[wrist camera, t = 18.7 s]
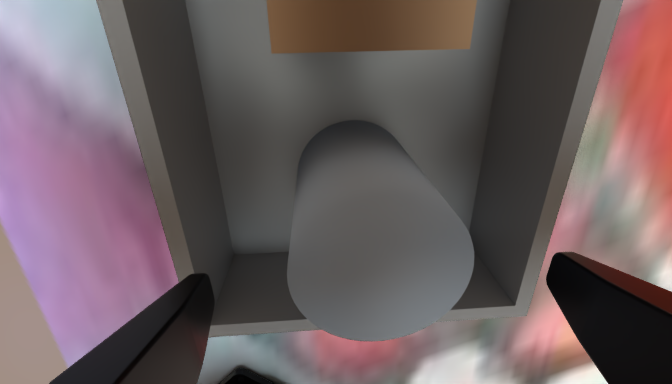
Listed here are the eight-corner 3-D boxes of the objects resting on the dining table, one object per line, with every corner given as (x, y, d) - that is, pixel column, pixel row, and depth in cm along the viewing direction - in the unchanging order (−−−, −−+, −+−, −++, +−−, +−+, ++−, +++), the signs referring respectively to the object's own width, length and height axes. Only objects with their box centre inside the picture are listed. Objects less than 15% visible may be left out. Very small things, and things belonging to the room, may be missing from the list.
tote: (472, 245, 18) (526, 315, 13) (226, 259, 17) (195, 338, 13) (557, -207, 10) (743, -393, 6) (129, -210, 10) (-27, -419, 5)
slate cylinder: (405, 216, 16) (464, 332, 10) (304, 226, 16) (299, 349, 10) (407, 115, 14) (485, 180, 8) (290, 125, 14) (273, 200, 8)
